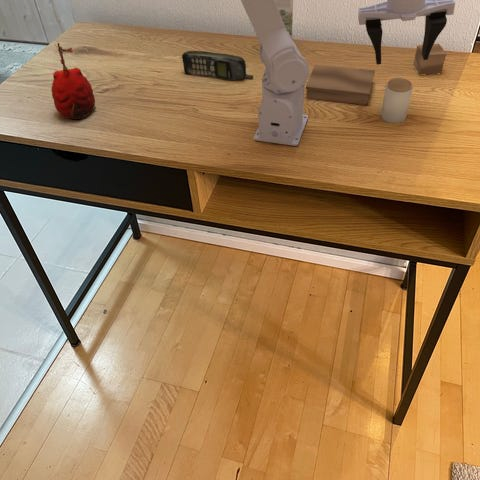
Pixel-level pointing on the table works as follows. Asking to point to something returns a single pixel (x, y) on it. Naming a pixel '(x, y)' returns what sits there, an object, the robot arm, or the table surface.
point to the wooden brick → (340, 84)
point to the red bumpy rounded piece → (71, 91)
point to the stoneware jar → (396, 100)
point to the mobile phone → (214, 65)
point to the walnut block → (430, 60)
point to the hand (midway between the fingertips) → (401, 59)
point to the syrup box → (286, 13)
